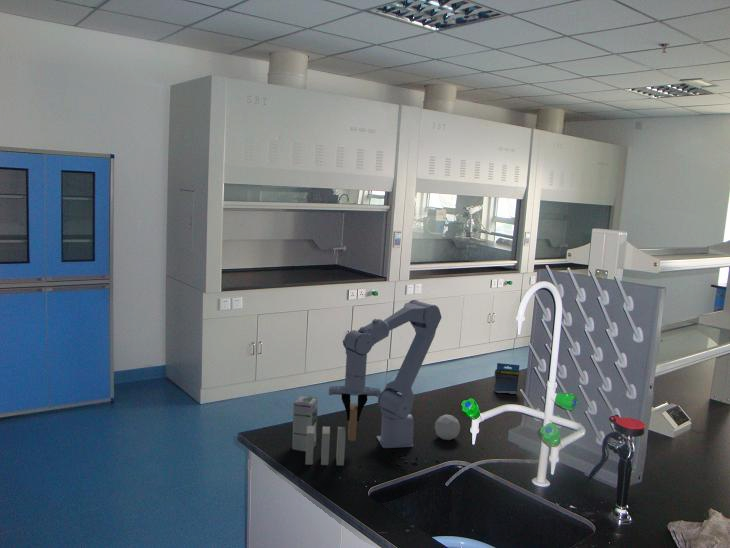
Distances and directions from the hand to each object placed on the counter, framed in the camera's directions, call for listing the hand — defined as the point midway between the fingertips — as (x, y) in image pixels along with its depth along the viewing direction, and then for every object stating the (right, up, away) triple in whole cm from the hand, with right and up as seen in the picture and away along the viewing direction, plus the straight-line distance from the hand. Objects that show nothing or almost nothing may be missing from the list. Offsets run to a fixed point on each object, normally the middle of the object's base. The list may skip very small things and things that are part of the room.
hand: (352, 419), depth 167 cm
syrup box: (-14, -9, +4) cm, 18 cm away
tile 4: (-12, -10, -4) cm, 16 cm away
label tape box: (+58, -5, +64) cm, 87 cm away
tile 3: (-8, -11, -4) cm, 14 cm away
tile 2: (-4, -11, -3) cm, 12 cm away
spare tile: (0, -5, +1) cm, 5 cm away
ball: (+29, -10, +16) cm, 35 cm away
